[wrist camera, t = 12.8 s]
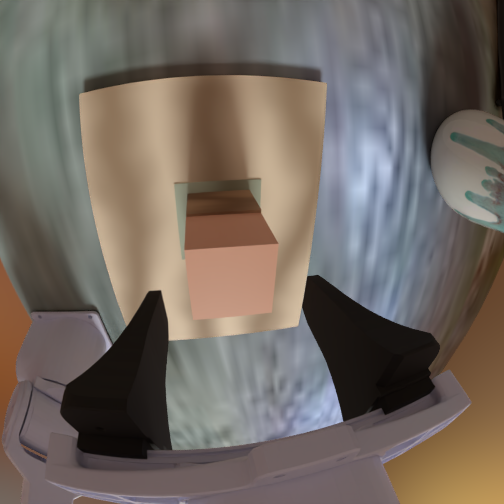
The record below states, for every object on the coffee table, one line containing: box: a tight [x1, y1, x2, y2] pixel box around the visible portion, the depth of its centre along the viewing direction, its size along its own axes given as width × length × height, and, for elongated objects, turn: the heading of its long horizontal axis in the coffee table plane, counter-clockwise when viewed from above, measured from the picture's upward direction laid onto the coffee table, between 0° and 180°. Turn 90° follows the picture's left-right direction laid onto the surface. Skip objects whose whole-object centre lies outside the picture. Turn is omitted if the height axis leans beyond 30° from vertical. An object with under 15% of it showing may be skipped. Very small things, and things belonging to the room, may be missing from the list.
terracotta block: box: [184, 213, 279, 320], centre depth 16 cm, size 5×5×4 cm
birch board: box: [79, 75, 327, 340], centre depth 22 cm, size 18×24×1 cm
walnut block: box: [186, 190, 261, 217], centre depth 19 cm, size 5×5×4 cm
